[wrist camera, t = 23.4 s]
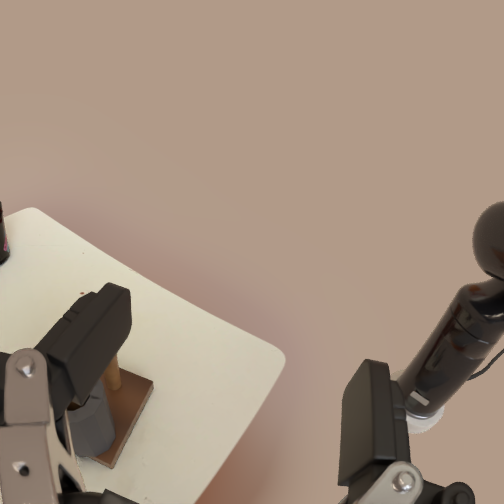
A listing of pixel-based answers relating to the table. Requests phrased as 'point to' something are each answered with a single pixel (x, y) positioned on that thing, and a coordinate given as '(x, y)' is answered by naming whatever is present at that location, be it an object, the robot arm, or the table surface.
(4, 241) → the supplement container
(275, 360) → the table surface
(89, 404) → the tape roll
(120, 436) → the rack
